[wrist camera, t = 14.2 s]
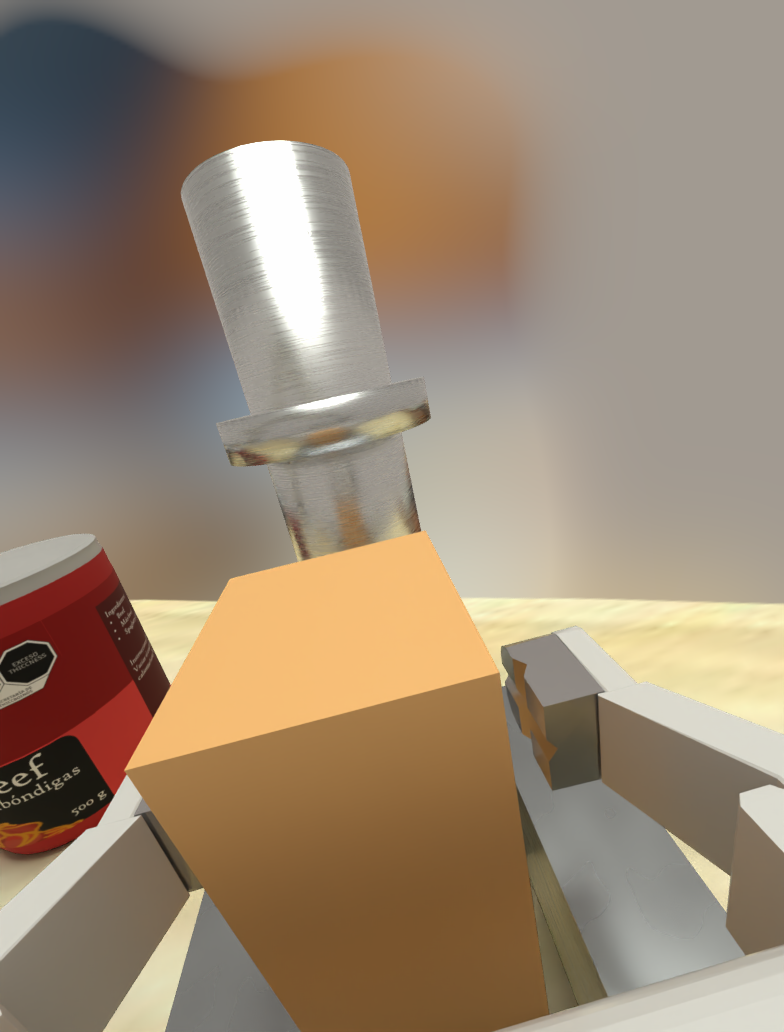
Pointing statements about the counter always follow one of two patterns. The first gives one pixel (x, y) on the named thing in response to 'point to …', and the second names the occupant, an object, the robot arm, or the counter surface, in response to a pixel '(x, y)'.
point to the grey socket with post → (378, 517)
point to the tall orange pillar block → (353, 795)
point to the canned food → (67, 690)
